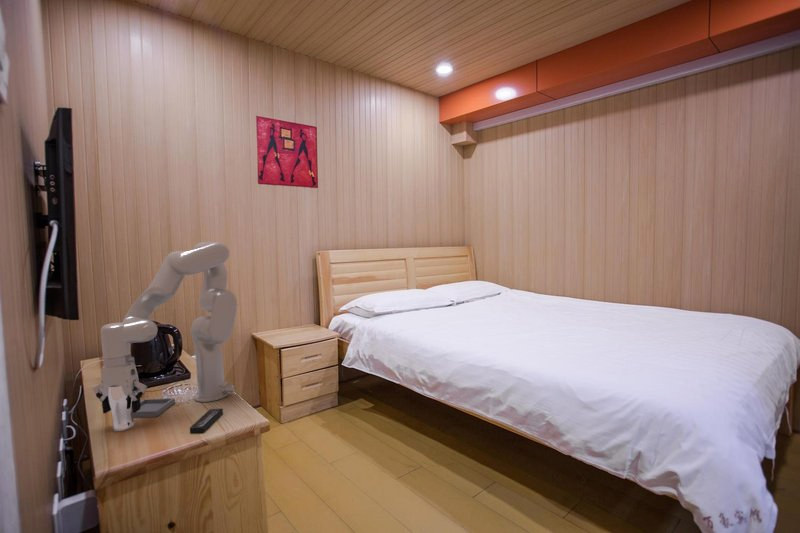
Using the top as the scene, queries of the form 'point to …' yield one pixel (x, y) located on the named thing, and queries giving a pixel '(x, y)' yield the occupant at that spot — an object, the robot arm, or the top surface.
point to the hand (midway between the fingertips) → (122, 411)
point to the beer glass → (120, 408)
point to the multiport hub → (206, 421)
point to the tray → (153, 407)
